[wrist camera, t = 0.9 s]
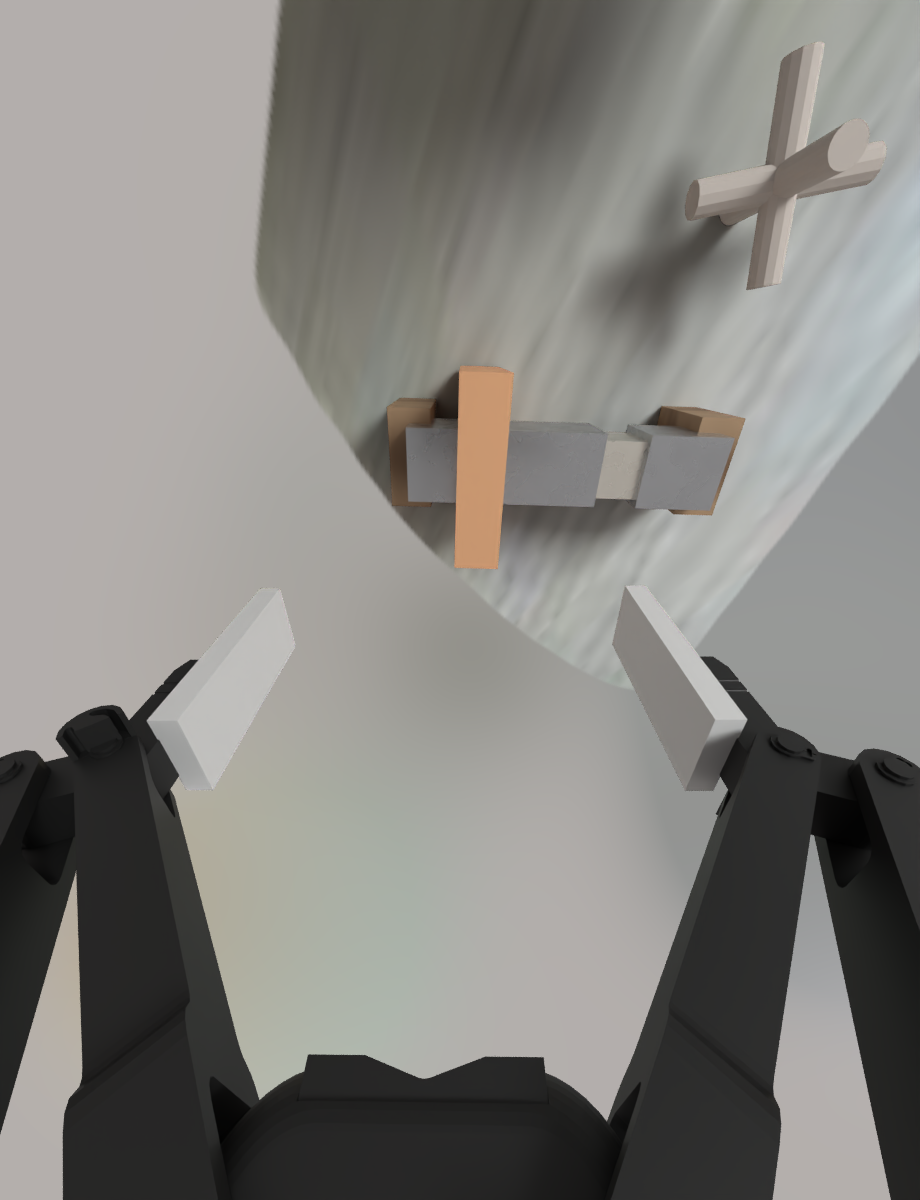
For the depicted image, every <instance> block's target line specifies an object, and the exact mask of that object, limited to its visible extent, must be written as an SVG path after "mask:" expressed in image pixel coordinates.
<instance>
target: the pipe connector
mask: <svg viewBox="0 0 920 1200" xmlns="http://www.w3.org/2000/svg"><path fill="white" fill-rule="evenodd" d="M824 46H825V44H824V42H814V43H811V44H808V45H805V46H803V47H801V48H799V49H797V50H795V51H793V52H791V53H790V54H789V55H787V56H786V57H784V59H783V60H782V61H781V65H780V72H779V78H778V85H777V92H776V98H775V105H774V111H773V118H772V124H771V131H770V138H769V144H768V151H767V157H766V164H765V165H763V166H759V167H754V168H749V169H744V170H740V171H735V172H730V173H726V174H721V175H716V176H711V177H707V178H702V179H697V180H694V181H693V182H692V184H691V185H690V188H689V191H688V194H687V198H686V204H685V215H686V218H687V220H689V221H691V220H696V219H701V218H706V217H711V216H716V215H719V216H720V219H721V221H722V223H724V224H725V225H733V224H736V223H738V222H740V221H742V220H744V219H746V218H748V217H750V216H752V215H754V214H756V213H758V216H757V223H756V230H755V236H754V243H753V249H752V256H751V262H750V269H749V276H748V282H747V289H746V290H751V289H756V288H761V287H766V286H771V285H776V284H780V283H781V279H782V274H783V268H784V263H785V257H786V252H787V247H788V241H789V236H790V230H791V225H792V219H793V214H794V209H795V203H796V199H799V198H804V197H809V196H814V195H819V194H824V193H829V192H834V191H839V190H843V189H848V188H853V187H858V186H863V185H867V184H868V183H870V182H871V181H872V180H874V179H875V177H876V176H877V174H878V173H879V171H880V170H881V168H882V166H883V163H884V160H885V158H886V150H887V146H886V144H885V142H884V141H876V142H872V143H868V142H869V135H870V133H869V127H868V125H867V123H866V122H865V121H864V120H862V119H852V120H850V121H848V122H846V123H845V124H843V125H841V126H840V127H838V128H836V129H835V130H833V131H831V132H830V133H828V134H826V135H825V136H823V137H821V138H820V139H818V140H816V141H815V142H813V143H811V144H810V145H808V146H807V147H806V144H807V138H808V133H809V128H810V122H811V117H812V111H813V106H814V100H815V95H816V90H817V84H818V79H819V73H820V68H821V63H822V57H823V52H824Z"/></svg>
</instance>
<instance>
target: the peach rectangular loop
mask: <svg viewBox="0 0 920 1200" xmlns="http://www.w3.org/2000/svg"><path fill="white" fill-rule="evenodd" d="M513 377H514V373H512V372H510V371H507V370H505V369H502V368H500V367H483V366H461V367H460V371H459V405H458V446H457V487H456V528H455V568H485V569H498V558H499V546H500V534H501V521H502V509H503V497H504V485H505V473H506V461H507V449H508V437H509V425H510V413H511V401H512V389H513Z"/></svg>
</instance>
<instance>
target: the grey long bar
mask: <svg viewBox="0 0 920 1200" xmlns="http://www.w3.org/2000/svg"><path fill="white" fill-rule="evenodd" d="M734 440H735V438H733V437H730V436H727V435H723V434H720V433H698V432H695V431H692V430H689V429H686V428H683V427H680V426H658V425H628V426H627V430H626V432H604V431H602V430H600V429H598V428H596V427H595V426H593V425H591V424H589V423H565V422H533V421H510V425H509V437H508V449H507V461H506V473H505V485H504V497H503V504H509V505H541V506H574V507H594V504H595V499H596V498H600V499H625V500H626V501H627V502H628V503H630V504H631V505H632V506H633V507H634V508H640V509H673V510H706V511H710V509H711V507H712V504H713V501H714V498H715V495H716V492H717V489H718V486H719V483H720V480H721V477H722V475H723V472H724V469H725V466H726V463H727V460H728V457H729V454H730V451H731V448H732V446H733V443H734ZM457 446H458V419H440V418H433V419H432V422H431V424H416V423H409V424H408V425H407V427H406V451H407V479H408V501H410V502H443V503H456V487H457Z"/></svg>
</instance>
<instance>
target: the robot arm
mask: <svg viewBox="0 0 920 1200" xmlns="http://www.w3.org/2000/svg"><path fill="white" fill-rule="evenodd" d="M612 645H613V647H614V649H615V651H616V653H617V655H618V657H619V659H620V661H621V663H622V665H623V667H624V669H625V671H626V673H627V675H628V677H629V679H630V681H631V683H632V685H633V687H634V689H635V691H636V693H637V695H638V697H639V699H640V701H641V703H642V705H643V707H644V709H645V711H646V713H647V715H648V717H649V719H650V721H651V723H652V725H653V727H654V729H655V731H656V733H657V735H658V737H659V739H660V741H661V743H662V745H663V747H664V749H665V751H666V753H667V755H668V757H669V759H670V761H671V763H672V765H673V767H674V769H675V771H676V773H677V775H678V777H679V779H680V781H681V783H682V785H683V787H684V789H685V790H686V791H713V790H714V788H715V786H716V784H717V782H718V780H719V778H720V777H721V778H722V780H723V782H724V783H725V785H726V787H727V788H728V791H727V793H726V795H725V797H724V799H723V801H722V803H721V805H720V807H719V809H718V811H717V813H716V814H717V815H718V817H717V820H716V822H715V825H714V828H713V831H712V834H711V837H710V840H709V842H708V845H707V848H706V851H705V854H704V857H703V859H702V862H701V865H700V868H699V871H698V873H697V876H696V880H695V882H694V885H693V888H692V890H691V893H690V896H689V899H688V902H687V905H686V908H685V910H684V913H683V916H682V919H681V922H680V925H679V928H678V931H677V933H676V936H675V939H674V942H673V945H672V947H671V950H670V953H669V956H668V959H667V961H666V964H665V968H664V970H663V973H662V976H661V978H660V982H659V985H658V987H657V990H656V993H655V996H654V999H653V1001H652V1004H651V1007H650V1010H649V1012H648V1016H647V1018H646V1021H645V1024H644V1027H643V1030H642V1032H641V1035H640V1039H639V1041H638V1044H637V1046H636V1049H635V1052H634V1054H633V1057H632V1059H631V1062H630V1064H629V1067H628V1069H627V1071H626V1073H625V1075H624V1078H623V1080H622V1083H621V1085H620V1088H619V1090H618V1093H617V1096H616V1098H615V1101H614V1104H613V1106H612V1109H611V1112H610V1115H609V1117H608V1120H607V1121H606V1120H605V1119H604V1118H603V1116H602V1115H601V1114H600V1113H599V1111H598V1110H597V1109H596V1108H595V1107H593V1105H592V1104H591V1103H590V1102H589V1101H588V1100H587V1099H586V1098H585V1097H583V1096H582V1095H581V1094H580V1093H579V1092H577V1091H576V1090H575V1089H574V1088H572V1087H571V1086H570V1085H568V1084H566V1083H565V1082H563V1081H561V1080H560V1079H558V1078H556V1077H554V1076H551V1075H549V1074H547V1073H545V1066H544V1058H543V1057H542V1058H541V1057H483V1058H481V1059H478V1060H476V1061H473V1062H470V1063H468V1064H465V1065H463V1066H460V1067H457V1068H455V1069H452V1070H449V1071H447V1072H444V1073H441V1074H439V1075H436V1076H434V1077H431V1078H428V1079H421V1078H418V1077H415V1076H413V1075H410V1074H408V1073H406V1072H403V1071H401V1070H399V1069H396V1068H394V1067H392V1066H389V1065H387V1064H385V1063H382V1062H380V1061H378V1060H375V1059H373V1058H371V1057H368V1056H366V1055H308V1057H307V1062H306V1067H305V1071H304V1072H302V1073H299V1074H297V1075H295V1076H293V1077H291V1078H289V1079H288V1080H286V1081H284V1082H282V1083H281V1084H279V1085H278V1086H277V1087H275V1088H274V1089H273V1090H271V1091H270V1092H268V1093H267V1094H266V1095H265V1096H264V1097H263V1098H262V1099H260V1100H259V1097H258V1094H257V1091H256V1087H255V1084H254V1081H253V1079H252V1076H251V1073H250V1072H249V1069H248V1067H247V1065H246V1062H245V1060H244V1058H243V1056H242V1053H241V1050H240V1047H239V1044H238V1040H237V1036H236V1032H235V1029H234V1026H233V1021H232V1017H231V1014H230V1009H229V1006H228V1002H227V998H226V994H225V990H224V986H223V982H222V978H221V975H220V971H219V967H218V963H217V959H216V955H215V951H214V948H213V944H212V940H211V936H210V932H209V928H208V924H207V920H206V917H205V913H204V909H203V906H202V901H201V898H200V893H199V890H198V886H197V882H196V878H195V874H194V871H193V867H192V862H191V859H190V855H189V851H188V847H187V843H186V839H185V835H184V832H183V828H182V824H181V820H180V817H179V812H178V809H177V805H176V801H175V797H174V795H173V793H172V792H171V790H170V789H171V787H172V786H173V784H174V782H175V781H176V779H177V778H178V777H179V778H180V780H181V782H182V784H183V785H184V787H185V789H186V790H213V789H214V788H215V786H216V784H217V782H218V780H219V779H220V777H221V775H222V774H223V772H224V770H225V768H226V767H227V765H228V763H229V761H230V759H231V758H232V756H233V754H234V752H235V751H236V749H237V747H238V746H239V744H240V742H241V740H242V739H243V737H244V735H245V733H246V732H247V730H248V728H249V726H250V725H251V723H252V721H253V719H254V718H255V716H256V714H257V712H258V711H259V709H260V707H261V705H262V704H263V702H264V700H265V698H266V697H267V695H268V693H269V691H270V690H271V688H272V686H273V684H274V683H275V681H276V679H277V678H278V676H279V674H280V672H281V671H282V669H283V667H284V665H285V664H286V662H287V660H288V658H289V656H290V655H291V653H292V651H293V650H294V648H295V646H296V645H295V642H294V638H293V634H292V630H291V627H290V623H289V619H288V616H287V612H286V609H285V605H284V601H283V597H282V594H281V590H280V588H260V589H259V590H258V591H257V593H256V594H255V595H254V596H253V597H252V599H251V600H250V601H249V602H248V603H247V604H246V605H245V607H244V608H243V609H242V610H241V611H240V612H239V614H238V615H237V616H236V617H235V618H234V620H233V621H232V622H231V623H230V624H229V625H228V626H227V628H226V629H225V630H224V631H223V632H222V633H221V635H220V636H219V637H218V638H217V639H216V641H215V642H214V643H213V644H212V645H211V646H210V647H209V649H208V650H207V651H206V652H205V653H204V654H203V655H202V657H201V658H200V659H199V660H189V661H188V662H187V663H185V664H183V665H182V666H180V667H179V668H177V669H176V670H174V671H173V673H172V674H171V675H170V676H169V677H168V678H167V679H166V680H165V681H164V684H163V685H161V686H160V687H159V688H158V689H157V690H156V692H155V694H154V695H152V696H151V697H150V698H149V699H148V700H147V701H146V702H145V703H144V705H143V706H142V707H141V708H140V709H139V710H138V711H137V712H136V713H135V715H134V716H133V717H132V718H131V719H130V720H128V718H127V717H126V715H125V713H124V712H123V710H122V709H121V708H120V707H118V706H114V705H107V706H100V707H97V708H93V709H90V710H88V711H85V712H83V713H81V714H79V715H77V716H76V717H74V718H73V719H71V720H70V721H69V722H67V723H66V724H65V725H64V726H63V727H62V728H61V729H60V730H59V732H58V734H57V737H56V740H57V742H58V743H59V744H60V745H61V747H62V748H63V749H64V751H65V752H66V753H67V755H68V757H64V758H60V759H56V760H51V761H48V762H44V761H43V759H42V758H41V757H40V756H39V755H38V754H37V753H36V752H35V751H29V750H24V751H19V752H14V753H11V754H9V755H6V756H3V757H1V758H0V1133H1V1130H2V1126H3V1123H4V1119H5V1116H6V1112H7V1109H8V1105H9V1102H10V1098H11V1095H12V1091H13V1088H14V1085H15V1081H16V1078H17V1074H18V1071H19V1067H20V1064H21V1060H22V1057H23V1053H24V1050H25V1046H26V1043H27V1039H28V1036H29V1032H30V1029H31V1026H32V1022H33V1018H34V1015H35V1012H36V1008H37V1004H38V1001H39V998H40V994H41V991H42V987H43V984H44V980H45V977H46V973H47V970H48V966H49V963H50V959H51V956H52V953H53V949H54V946H55V942H56V939H57V935H58V932H59V928H60V925H61V921H62V918H63V915H64V911H65V908H66V904H67V901H68V897H69V894H70V890H71V887H72V883H73V880H74V876H75V873H76V874H77V904H78V905H77V906H78V938H79V970H80V1002H81V1031H82V1032H81V1034H82V1067H83V1068H82V1080H81V1083H80V1087H79V1088H78V1089H77V1090H76V1091H75V1092H74V1094H73V1095H72V1096H71V1097H70V1098H69V1100H68V1104H67V1107H66V1110H65V1113H64V1125H63V1200H772V1199H773V1191H774V1184H775V1176H776V1168H777V1160H778V1153H779V1145H780V1132H781V1118H780V1108H779V1106H778V1104H777V1102H776V1100H775V1098H774V1093H773V1082H774V1073H775V1067H776V1060H777V1054H778V1047H779V1040H780V1033H781V1027H782V1020H783V1014H784V1007H785V1000H786V994H787V987H788V980H789V974H790V967H791V961H792V954H793V947H794V941H795V934H796V928H797V920H798V914H799V907H800V900H801V894H802V888H803V881H804V875H805V868H806V861H807V855H808V848H809V841H810V835H814V836H815V841H816V846H817V851H818V855H819V860H820V865H821V870H822V875H823V879H824V884H825V889H826V893H827V898H828V903H829V908H830V912H831V917H832V922H833V927H834V932H835V936H836V941H837V946H838V951H839V955H840V960H841V965H842V970H843V974H844V979H845V984H846V989H847V993H848V998H849V1002H850V1008H851V1012H852V1017H853V1022H854V1026H855V1031H856V1036H857V1041H858V1045H859V1050H860V1055H861V1060H862V1064H863V1069H864V1074H865V1078H866V1083H867V1088H868V1093H869V1098H870V1102H871V1107H872V1112H873V1117H874V1121H875V1126H876V1131H877V1135H878V1140H879V1145H880V1150H881V1155H882V1159H883V1164H884V1169H885V1174H886V1178H887V1183H888V1188H889V1193H890V1197H891V1200H920V768H919V767H918V766H916V765H915V764H914V763H912V762H910V761H908V760H907V759H905V758H903V757H901V756H899V755H896V754H893V753H891V752H888V751H884V750H879V749H867V750H863V751H862V752H861V753H860V754H859V755H858V756H857V758H856V759H855V760H849V759H845V758H841V757H837V756H832V755H828V754H824V753H820V752H818V751H817V749H816V748H815V747H814V745H812V744H811V743H810V742H809V741H808V740H806V739H805V738H804V737H802V736H800V735H798V734H797V733H795V732H793V731H790V730H787V729H784V728H780V727H777V725H776V724H775V723H774V722H773V721H772V719H771V718H770V717H769V716H768V714H766V712H765V711H764V710H763V709H762V707H761V706H760V705H759V704H758V703H757V701H756V700H755V699H754V698H753V696H752V695H751V694H750V693H749V692H747V689H746V688H745V687H744V685H743V684H742V683H741V682H739V681H738V678H737V677H736V676H735V675H734V673H733V672H732V671H731V670H730V668H729V667H727V666H726V665H724V664H723V663H722V662H720V661H719V660H717V659H716V658H714V657H700V656H699V655H698V654H697V653H696V651H695V650H694V649H693V647H692V646H691V645H690V643H689V642H688V641H687V639H686V638H685V637H684V635H683V634H682V633H681V632H680V630H679V629H678V628H677V626H676V625H675V624H674V622H673V621H672V620H671V618H670V617H669V616H668V614H667V613H666V612H665V610H664V609H663V608H662V607H661V605H660V604H659V603H658V601H657V600H656V599H655V597H654V596H653V595H652V593H651V592H650V591H649V589H648V588H647V587H646V586H625V588H624V593H623V597H622V602H621V607H620V611H619V616H618V621H617V625H616V630H615V634H614V639H613V644H612Z"/></svg>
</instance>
